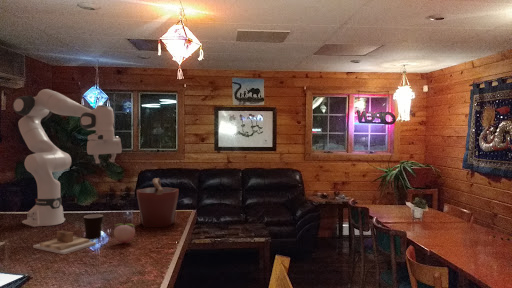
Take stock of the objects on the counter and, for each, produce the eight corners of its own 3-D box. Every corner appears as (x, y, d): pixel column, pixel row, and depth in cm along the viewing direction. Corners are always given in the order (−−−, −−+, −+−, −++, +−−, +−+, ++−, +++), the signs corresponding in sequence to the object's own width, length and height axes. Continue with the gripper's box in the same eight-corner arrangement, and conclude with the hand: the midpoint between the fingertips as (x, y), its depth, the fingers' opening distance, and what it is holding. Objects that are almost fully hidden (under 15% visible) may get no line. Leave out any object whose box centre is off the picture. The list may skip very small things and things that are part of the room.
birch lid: (39, 245, 168) (39, 233, 168) (68, 238, 181) (68, 226, 180) (61, 250, 162) (61, 237, 162) (89, 242, 174) (89, 230, 174)
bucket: (170, 229, 202) (170, 181, 201) (128, 228, 203) (128, 180, 202) (181, 219, 227) (181, 176, 226) (143, 218, 227) (143, 175, 227)
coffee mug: (96, 239, 181) (96, 218, 181) (79, 238, 183) (79, 217, 183) (110, 233, 193) (110, 213, 193) (94, 232, 195) (94, 212, 194)
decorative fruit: (112, 247, 170) (112, 224, 170) (114, 242, 178) (114, 220, 178) (135, 245, 173) (135, 223, 172) (135, 240, 181) (135, 219, 180)
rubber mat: (33, 247, 169) (33, 245, 169) (65, 238, 183) (65, 236, 183) (63, 254, 159) (63, 252, 159) (96, 244, 174) (96, 242, 174)
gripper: (116, 136, 215) (116, 161, 216) (84, 136, 197) (84, 163, 198) (124, 136, 213) (124, 161, 213) (93, 136, 194) (93, 164, 195)
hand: (105, 162), depth 205 cm, fingers open, 8 cm apart
